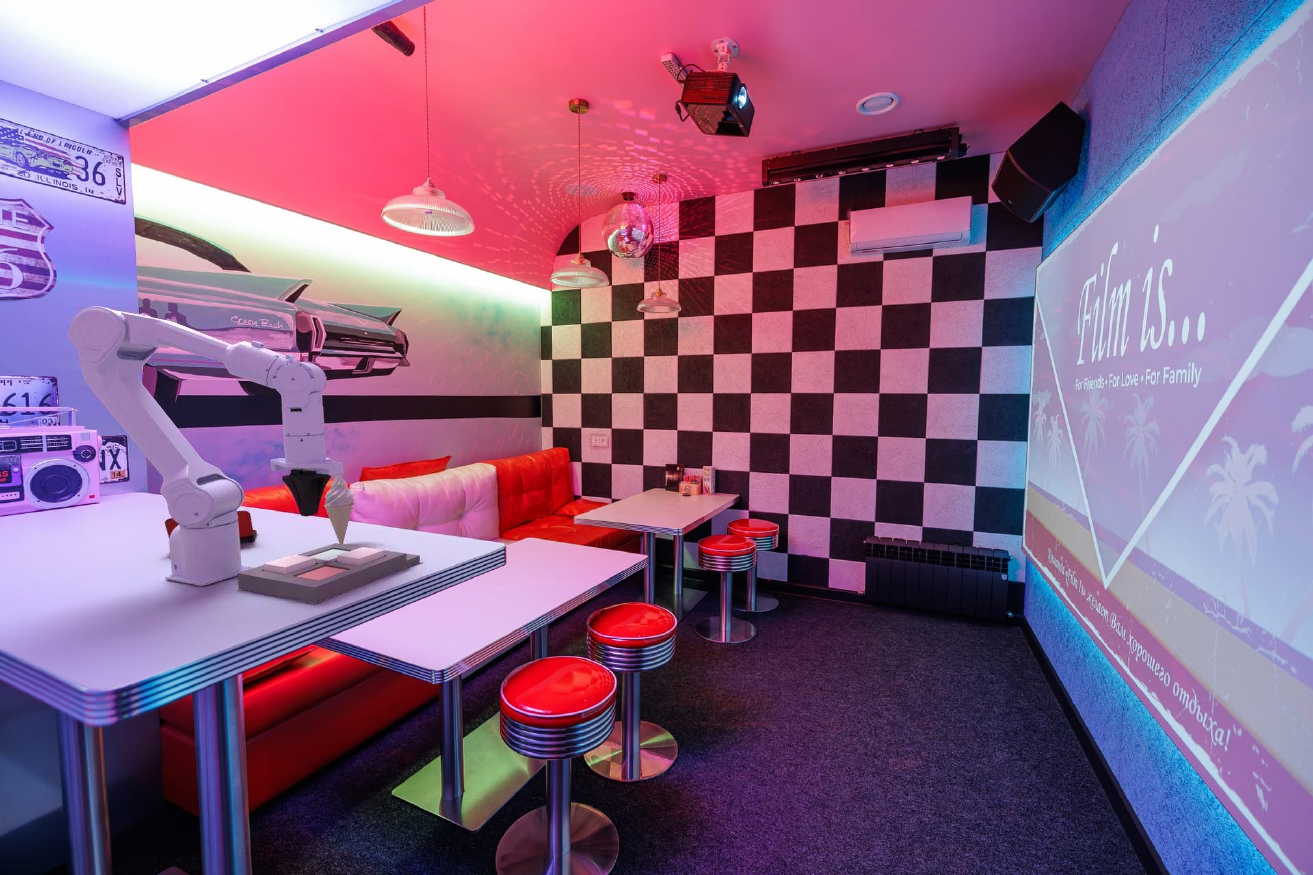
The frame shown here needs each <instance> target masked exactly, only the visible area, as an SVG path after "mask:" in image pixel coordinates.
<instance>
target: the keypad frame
mask: <svg viewBox="0 0 1313 875" xmlns="http://www.w3.org/2000/svg"><path fill="white" fill-rule="evenodd" d="M361 547H362V546H360V545H359V546H357V545H351V544H344V543H343V544H339V542H335V543H331V544H329V545H325V546H322V547H320V548H319V547H318V548H315V549H312V550H309V551H305V552H303V553H299V554H297V555H300V556H306V557H310V556H313V555H316V554H319V553H323V552H326V551H329V550H332V549H336V550H342V551H352V550H355V549H358V548H361ZM364 547H365V546H364ZM365 548H367V547H365ZM371 548H372V547H371ZM372 549H375V548H372ZM379 550H381V549H380V548H379ZM383 550H384V557H382V558H379V559H377V560H374V561H371V562H368V563H366V564H363V565H360V566H357V565H351V564H344V563H338V559H337V558H334V559H331V560H328V561H326V560H319V559H315V565H313V566H310V567H307V568H304V569H301V570H298V571H295V572H292V573H289V574H286V575H283V574H278V573H272V572H267V571H264V564H262V565H259V566H256V567H254V568H252V569H249V570H246V571H242V572H239V573H237V574H238V575H237V584H238V588H237V589H238V590H243V591H249V592H251V593H252V592H253V593H258V594H262V595H263V594H264V595H267V596H273V597H279V598H281V599H282V598H283V599H287V600H293V601H298V602H303V603H307V604H313V605H318V604H320V603H323V602H325V601H328V600H330V599H332V598H336V597H337V596H340V595H342V594H345V593H347V592H348V593H349V592H350V591H352V590H355V589H357V588H360V587H363V586H365V585H367V584H369V583H373V582H374V581H376V580H377V581H378V580H379V579H381V578H384V577H387V576H390V575H393V574H395V573H397V572H399V571H401V570H404V569H407V568H409V567H411V566H410V565H412V566H413V564H414V565H416V564H415V563H417V564H419V563H420V562H421V556H420V555H418V554H412V553H406V552H400V551H394V550H386V549H383ZM419 561H420V562H419ZM418 562H419V563H418ZM325 566H326V567H332V568H338V569H344V570H346V571H344V572H341V573H338V574H335V575H333V576H330V577H327V578H324V579H322V580H319V581H316V580H311V579H305V578H300V577H296V576H299V575H302V574H304V573H307V572H310V571H313V570H316V569H319V568H322V567H325ZM406 567H407V568H406Z"/></svg>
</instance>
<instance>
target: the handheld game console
mask: <svg viewBox="0 0 1313 875" xmlns="http://www.w3.org/2000/svg"><path fill="white" fill-rule="evenodd" d="M237 515H238V526H239V539H240V545H241V544H249V543H254V542H255V539H256V536H257V534H258V533H257V530H256V529H254V528H253V522H252V515H251V513H250V511H248V510H237ZM178 525H180V524H179V523H177V522H176V521H175V520H174V519H173V518H172V517H170V518H167V519H165V521H164V527H165V529H166V532H167V536H168V537H167V538H168V539H169V538H170V535H171V533H172V531H173V530H174V529H175V528H176V527H177V526H178Z"/></svg>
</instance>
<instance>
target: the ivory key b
mask: <svg viewBox="0 0 1313 875" xmlns="http://www.w3.org/2000/svg"><path fill="white" fill-rule="evenodd" d="M360 547H361V548H358V549H355V550H352V551H349V552H346V553H343V554H340V555H337V559H338V563H344V564H351V565H357V566H360V565H363V564H366V563H368V562H371V561H374V560H377V559H379V558H382V557H384V550H385V549H380V548H379V549H380V550H379V549H378V548H374V549H372V547H366V548H365V546H360Z"/></svg>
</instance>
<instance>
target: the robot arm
mask: <svg viewBox="0 0 1313 875" xmlns="http://www.w3.org/2000/svg"><path fill="white" fill-rule="evenodd" d="M66 337H67V338H68V340H69V341H70V342H71V343H72V345H74V346H75V348H76V351H77V356H78V360H79V366H80V369H81V375H82V378H83V380H84V382H85V384H86V385H87V386H88V387H89V389H90V390H91V391H92V392H93V394H94V395H95V396H96V398H97V399H98V400H99V401H100V402H101V404H102V405H103V406H104V407H105V409H106V410H107V411H108V412H109V413H110V414H111V416H112V417H113V418H114V419H115V421H116V422H117V423H118V424H119V425H120V427H121V428H122V429H123V431H125V433H126V434H127V436H129V437H130V439H131V440H132V441H133V443H134V444H135V445H136V446H137V447H138V448H139V450H140V451H141V452H142V454H143V455H144V456H145V457H146V458H147V460H148V461H149V462H150V463H151V464H152V465H153V467H154V468H155V469H156V471H157V472H158V473H159V474H160V475H161V477H162V478H163V479H162V484H161V487H160V491H159V493H160V495H162V497H163V498H164V499H165V501H166V503H167V510H168V513H169V515H170V518H173V519H174V520H175V521H176V522H177V523H179V524H180V525H178V526H177V527H176V528H175V529H174V530H173V531H172V533H171V535H170V538H169V537H168V543H169V554H170V555H169V556H170V567H171V569H170V570H171V574H170V573H169V574H166V575H165V579H166V580H170V581H174V582H175V581H176V582H179V583H184V584H190V585H194V586H198V587H199V586H200V587H204V586H207V585H211V584H215V583H217V582H221V581H223V580H228V579H231V578H234V577H238V574H237V573H239V572H242V571H246V570H249V569H252V568H255V567H254V566H248V565H244V564H242V554H241V544H240V539H239V526H238V515H237V511H238V509H240V507H241V506H242V505H243V503H244V502H245V491H244V488H243V487H242V486H241V484H240V483H239V482H238V481H237V480H235V479H233V478H230V477H228V476H227V475H226V474H224V472H223V471H222V470H221V468H219V467H218V466H216V465H214V464H211V463H209V462H207V461H205V460H204V459H203V458H202V457H201V456H200V455H199V453H198V452H197V451H196V449H195V448H194V447H193V445H191V443H190V442H189V441H188V440H187V438H186V437H185V436H184V434H183V433H182V431H180V429H179V428H178V427H177V426H176V425H175V423H174V422H173V421H172V419H171V418H170V417H169V415H167V414H166V412H165V411H164V409H163V408H162V407H161V405H160V404H159V403H158V402H157V401H156V399H155V398H154V397H153V396H152V394H151V393H150V392H149V390H148V389H147V388H146V387H145V386H144V384H143V383H142V381H141V380H140V379H139V375H140V372H141V370H142V368H143V367H144V366H145V364H146V363H147V362H148V361H149V360H150V359H151V358H152V356H153V355H154V354H155V353H157V350H158V349H159V348H160V349H161V348H162V349H168V348H175V349H178V350H181V351H184V352H187V353H191V354H194V355H196V356H200V357H204V358H206V359H210V360H212V361H216V362H219V363H222V364H223V365H224V367H225V368H226V371H228V373H229V374H230V375H232V376H235V377H239V378H240V379H241V378H242V379H244V380H247V381H250V382H253V383H256V384H259V385H262V386H265V387H268V388H270V389H275V390H276V391H277V392H278V393H279V394H280V397H281V414H282V416H281V417H282V430H283V449H284V457H281V458H279V457H278V458H273V459H270V471H274V472H277V471H283V472H284V471H285V472H289V474H286V475H282V476H281V480H282V481H283V483H284V484H285V485H286V487H287V488H288V489H289V491H290V493H291V495H292V496H293V499H294V500H295V503H296V507H297V508H298V511H299V514H300V516H301V517H310V516H311V517H312V516H315V515H318V513H319V508H320V505H321V500H322V497H323V494H324V491H325V488H326V486H327V485H328V483H329V481H330V480H331V478H332V477H335V475H340V474H341V475H345V474H344V472H345V470H344V462H342V461H335V460H332V457H327V451H326V435H325V434H326V433H325V418H324V416H325V415H324V406H323V404H324V403H323V393H322V392H323V391H324V390H325V389H326V387H327V386H326V385H327V382H328V381H327V379H328V378H327V376H326V373H325V371H324V370H323V369H322V368H321V367H320V366H318V365H316V364H314V363H313V362H312V361H296V356H295V355H293V354H290V353H286V354H282V353H279V352H277V351H273V350H271V349H268V348H266V347H265V343H263V342H260V341H257V340H252V341H245V340H244V341H240V342H238V343H234V344H230V343H229V342H225V341H224V340H220V339H219V338H215V337H212V336H210V335H207V334H205V333H202V332H200V331H197V330H195V329H193V328H189V327H187V326H185V325H182V324H179V323H177V322H174V321H171V320H170V321H169V320H166V319H161V318H156V317H152V316H149V315H147V314H142V313H130V312H125V311H119V310H114V309H110V308H109V307H103V306H95V305H94V306H88V307H85V308H82V309H80V310H79V311H78V312H77V313H76V314H75V315H74V317H73V319H72V320H71V324H70V326H69V328H68V331H67V334H66Z"/></svg>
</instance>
